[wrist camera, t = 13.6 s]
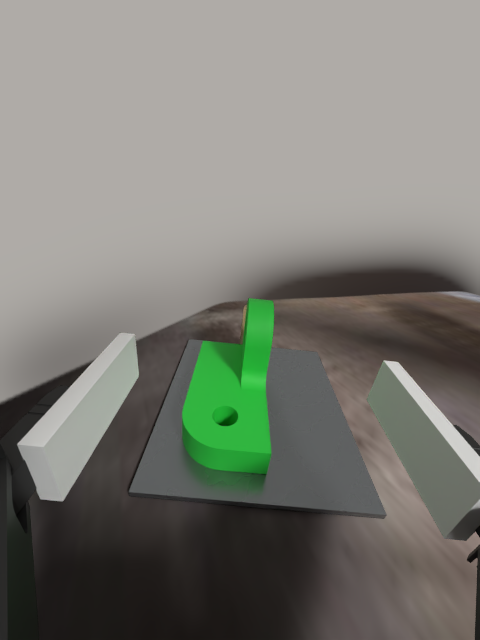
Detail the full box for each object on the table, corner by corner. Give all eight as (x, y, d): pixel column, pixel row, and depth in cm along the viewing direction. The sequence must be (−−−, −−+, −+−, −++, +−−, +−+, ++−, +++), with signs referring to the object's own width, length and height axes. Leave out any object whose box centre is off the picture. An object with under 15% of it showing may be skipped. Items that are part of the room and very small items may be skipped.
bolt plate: (316, 354, 30) (329, 308, 28) (384, 518, 15) (427, 451, 12) (189, 342, 30) (190, 294, 27) (129, 495, 15) (117, 422, 12)
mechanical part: (202, 356, 27) (205, 284, 23) (259, 362, 27) (270, 291, 24) (172, 466, 16) (169, 363, 13) (266, 474, 16) (289, 374, 13)
